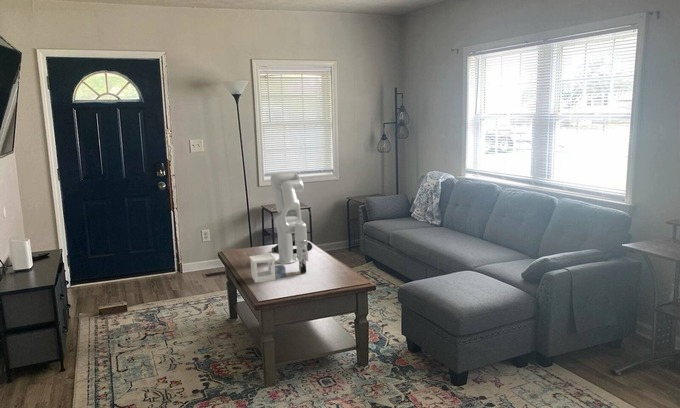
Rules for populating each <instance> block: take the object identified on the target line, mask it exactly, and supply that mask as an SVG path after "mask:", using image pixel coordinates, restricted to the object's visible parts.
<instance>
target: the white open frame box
mask: <svg viewBox="0 0 680 408" xmlns="http://www.w3.org/2000/svg"><path fill="white" fill-rule="evenodd" d="M249 259H250V269H251V270H250V271H251V272H250V273H251V278H252V279H253V281H254V283H255V284H257V283H263V282H271V281H276V279H277V278H276V277H275V266H276V265H275V261H276V258H275V257H274V255H272V253H265V254H263V253H262V254H258V255H257V254H256V255H250V256H249ZM258 263H259V264H261V263H267V268H268V270H267V269H266V270H261V271H260V270H259V271H258Z"/></svg>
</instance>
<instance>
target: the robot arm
mask: <svg viewBox="0 0 680 408" xmlns="http://www.w3.org/2000/svg"><path fill="white" fill-rule="evenodd" d="M270 186H271V187H272V190H273V192H274V193H273V194H274V201H275V209H276V212H278V213H280V215H277V217H276V218H275V220H274V221H275V228H276V232H277V244H278V249H279V253H278V259H277V260H276V263H277V264H279V265H288V264H293V263H295V262H296V261H297V260H298V266H299V267H298V268H299V269H298V270H299V271H300V263H301V274H302V273H303V274H306V273H307V262H309V254H308V253H309V251H307V242H308V232H307V230H308V229H307V224H306V223H305V222H304V221H303V220H302V211H301V203H300V200H299V198H298V197H297V196H298V195H297V194H300V193H303V192H304V191H305V185H304V182H303V180H302V178H301V177H300V175H299V174H298V173H297V172H296V171H283V172H282V171H280V172H275V173H273V174H271V176H270ZM289 213H290V214H289ZM292 234H294V241H295V247H296V249H297V253H296V254H293V249H294V248H293V247H294V246H293V243H292V241H293V235H292ZM302 263H303V264H302Z"/></svg>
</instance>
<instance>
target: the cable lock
mask: <svg viewBox="0 0 680 408" xmlns="http://www.w3.org/2000/svg"><path fill="white" fill-rule="evenodd" d="M292 243H293V247H294V246H295V240H292ZM295 247H296V246H295ZM312 248H313V244H312V243H311V242H309V241H307V251H308V252H309V251H311V250H312ZM271 252H272V253H278V254H279V249H278V243H277V244H276V245H275V246H274V247H273V246H272V248H271ZM294 253H296V254H297V248H293V254H294ZM294 255H295V254H294Z"/></svg>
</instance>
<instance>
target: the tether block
mask: <svg viewBox="0 0 680 408" xmlns="http://www.w3.org/2000/svg"><path fill="white" fill-rule="evenodd" d="M302 264H303V263H302ZM301 274H302V275H303V274H304V273H301V263H300V271H298V270H297V271H293V272H287V271H286V266H285V264H279V265H278V264H277V265H275V278H276V279H279V278H286V277H287V276H293V275H301Z"/></svg>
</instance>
